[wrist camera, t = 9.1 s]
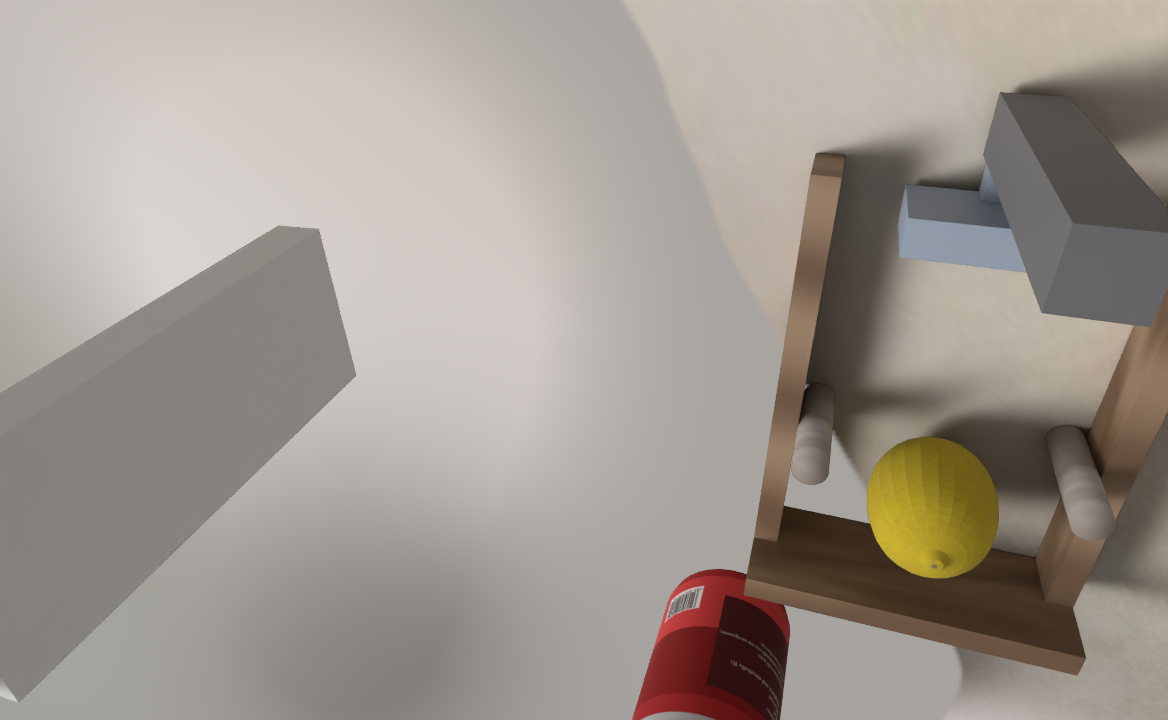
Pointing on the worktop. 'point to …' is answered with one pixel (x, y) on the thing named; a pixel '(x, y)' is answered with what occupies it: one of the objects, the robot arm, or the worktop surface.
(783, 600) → the lane
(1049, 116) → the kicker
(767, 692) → the canned food
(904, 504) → the lemon
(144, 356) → the robot arm
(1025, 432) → the worktop surface
